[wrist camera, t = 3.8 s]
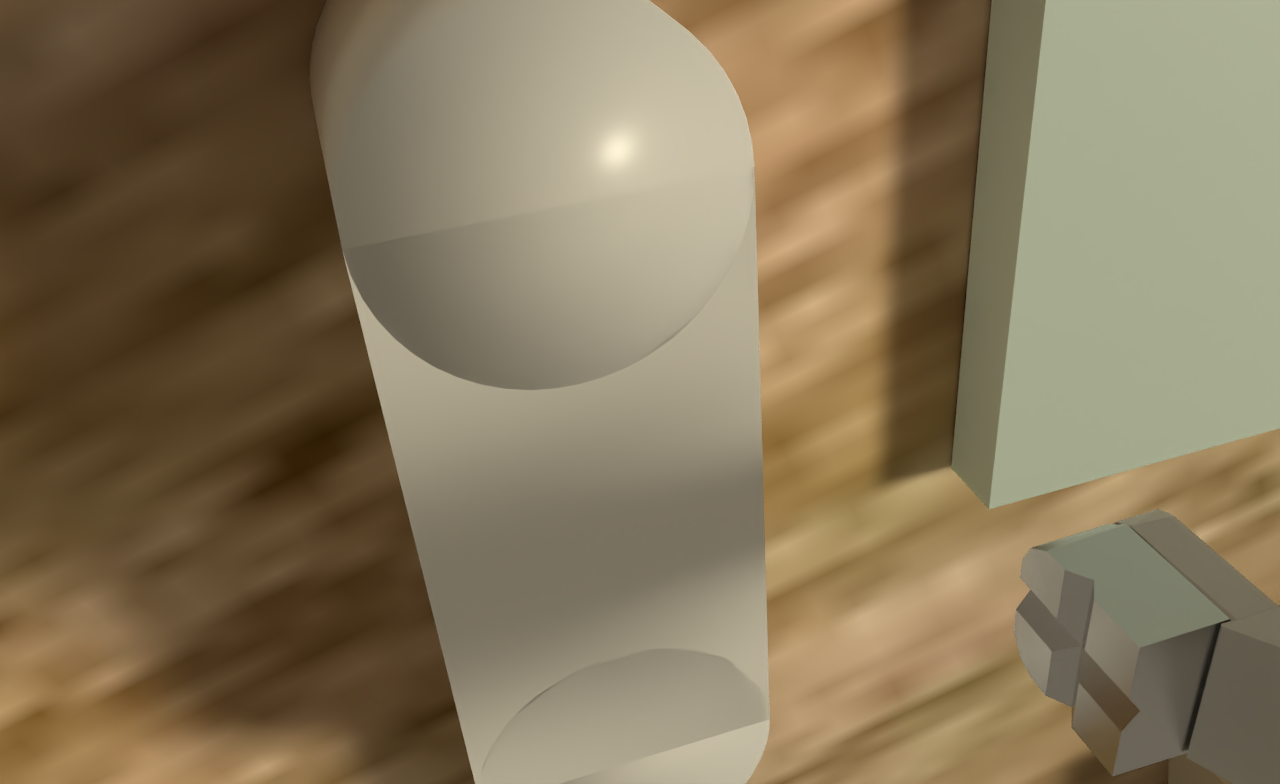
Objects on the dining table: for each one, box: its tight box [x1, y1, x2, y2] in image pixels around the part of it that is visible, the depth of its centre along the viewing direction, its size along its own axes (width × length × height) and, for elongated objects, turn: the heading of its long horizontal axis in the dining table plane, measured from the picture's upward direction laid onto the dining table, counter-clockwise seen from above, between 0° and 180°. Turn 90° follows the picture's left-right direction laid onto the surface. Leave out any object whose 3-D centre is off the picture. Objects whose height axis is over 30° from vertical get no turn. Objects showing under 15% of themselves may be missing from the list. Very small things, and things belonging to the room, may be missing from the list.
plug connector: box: [310, 0, 770, 784], centre depth 15 cm, size 15×4×4 cm, turn 5°
